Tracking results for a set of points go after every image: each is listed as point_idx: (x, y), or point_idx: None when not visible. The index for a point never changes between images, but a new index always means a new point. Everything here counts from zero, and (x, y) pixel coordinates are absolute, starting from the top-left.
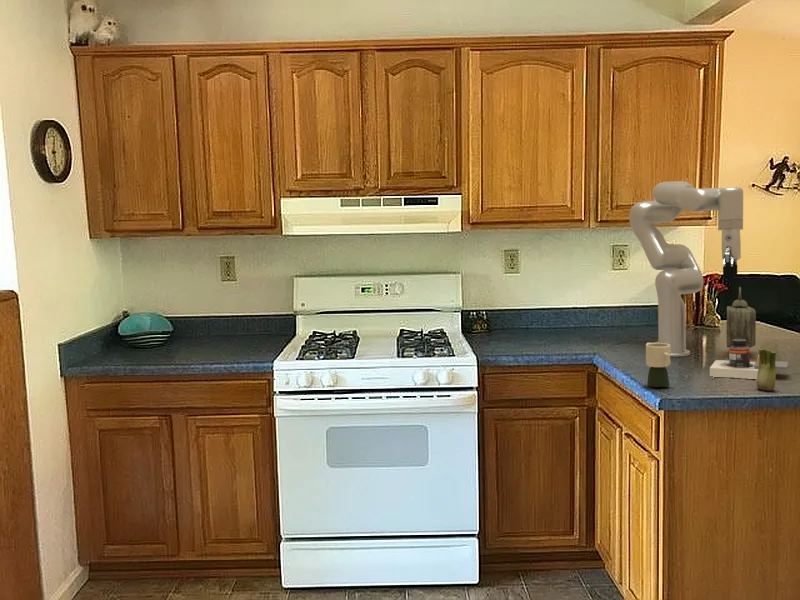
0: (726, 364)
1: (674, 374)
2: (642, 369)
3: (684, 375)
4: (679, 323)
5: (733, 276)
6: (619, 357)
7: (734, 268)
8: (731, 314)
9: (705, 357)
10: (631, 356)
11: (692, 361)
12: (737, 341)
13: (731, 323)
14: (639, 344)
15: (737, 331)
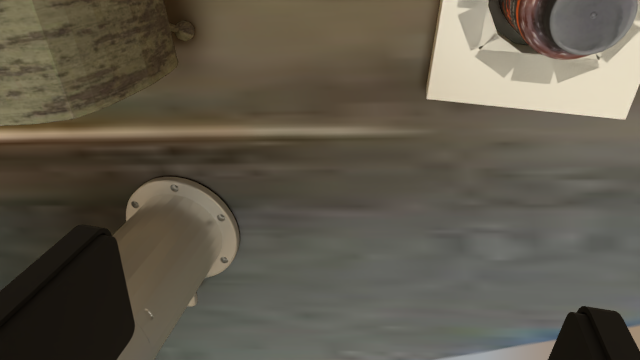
0: (524, 52)
1: (554, 219)
2: (472, 302)
3: (572, 189)
4: (154, 283)
5: (632, 339)
6: (289, 350)
7: (34, 352)
8: (83, 90)
9: (202, 126)
10: (264, 324)
11: (293, 167)
12: (630, 24)
13: (124, 74)
14: None
15: (142, 32)
